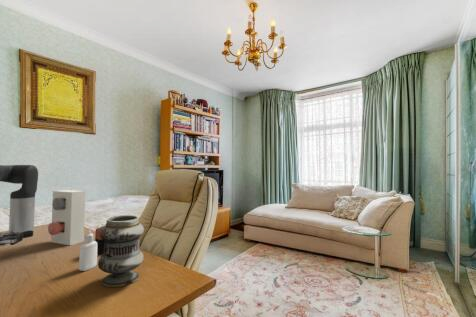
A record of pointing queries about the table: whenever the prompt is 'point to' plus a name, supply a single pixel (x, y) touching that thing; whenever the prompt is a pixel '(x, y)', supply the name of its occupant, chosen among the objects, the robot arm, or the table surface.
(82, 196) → the box
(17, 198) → the robot arm
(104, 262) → the apothecary jar
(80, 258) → the eye dropper bottle
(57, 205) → the upper grey button
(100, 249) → the battery
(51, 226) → the lower red button
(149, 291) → the table surface
